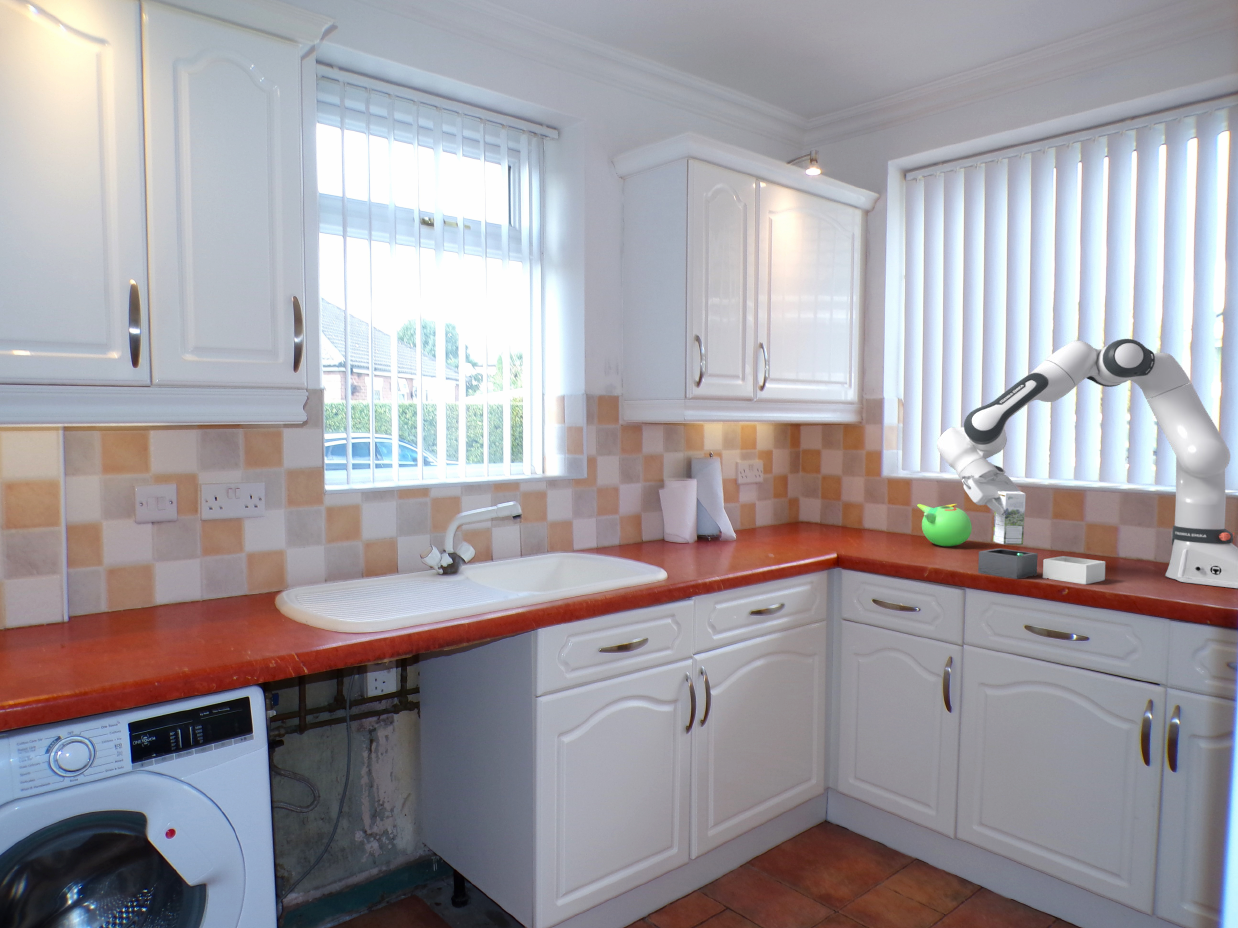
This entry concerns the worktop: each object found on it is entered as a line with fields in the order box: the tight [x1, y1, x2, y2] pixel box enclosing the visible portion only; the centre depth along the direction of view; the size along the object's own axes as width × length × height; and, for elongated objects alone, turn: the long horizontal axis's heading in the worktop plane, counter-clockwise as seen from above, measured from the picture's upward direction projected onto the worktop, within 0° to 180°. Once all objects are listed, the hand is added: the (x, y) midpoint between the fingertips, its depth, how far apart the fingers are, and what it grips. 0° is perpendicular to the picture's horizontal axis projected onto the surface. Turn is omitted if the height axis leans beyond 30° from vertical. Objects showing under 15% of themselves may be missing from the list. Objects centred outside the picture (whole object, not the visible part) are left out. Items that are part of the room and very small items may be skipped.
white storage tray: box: [1042, 555, 1106, 585], centre depth 218 cm, size 11×11×5 cm
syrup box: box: [992, 491, 1027, 546], centre depth 224 cm, size 6×6×14 cm
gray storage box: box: [977, 548, 1039, 580], centre depth 225 cm, size 11×11×7 cm
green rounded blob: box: [917, 503, 973, 547], centre depth 278 cm, size 18×17×15 cm
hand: (1011, 513), depth 224 cm, fingers closed on syrup box, 7 cm apart
